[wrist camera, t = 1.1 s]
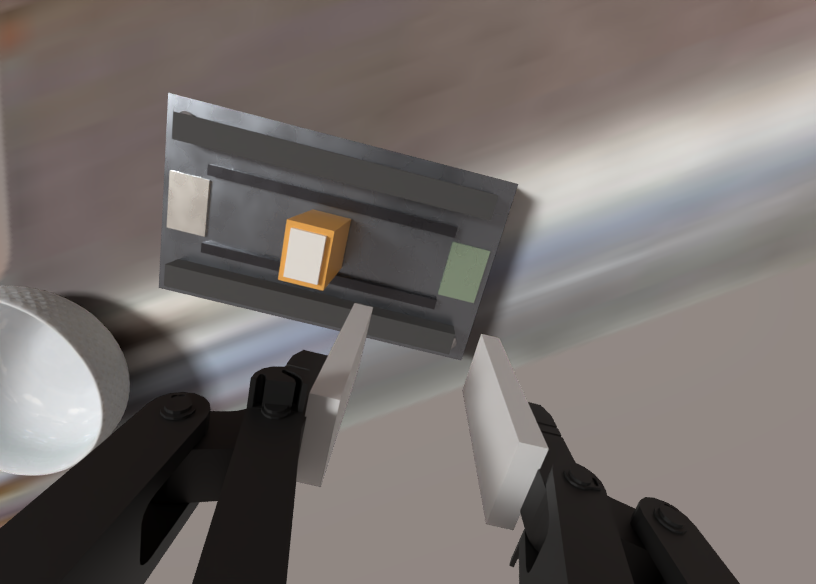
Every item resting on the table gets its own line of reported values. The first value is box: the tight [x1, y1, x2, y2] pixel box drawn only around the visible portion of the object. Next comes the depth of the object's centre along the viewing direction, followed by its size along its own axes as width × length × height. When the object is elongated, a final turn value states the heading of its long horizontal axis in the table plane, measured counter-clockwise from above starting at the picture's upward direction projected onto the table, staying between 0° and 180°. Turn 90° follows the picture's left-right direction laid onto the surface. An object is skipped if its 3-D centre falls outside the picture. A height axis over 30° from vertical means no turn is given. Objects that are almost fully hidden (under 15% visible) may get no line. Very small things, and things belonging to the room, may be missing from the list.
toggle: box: [278, 209, 351, 291], centre depth 27 cm, size 4×3×6 cm
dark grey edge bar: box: [164, 259, 455, 355], centre depth 31 cm, size 2×23×2 cm, turn 76°
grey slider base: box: [159, 93, 518, 360], centre depth 32 cm, size 15×26×4 cm, turn 76°
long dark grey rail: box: [172, 111, 498, 221], centre depth 28 cm, size 2×23×2 cm, turn 76°
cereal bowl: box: [0, 286, 130, 475], centre depth 35 cm, size 17×17×7 cm
